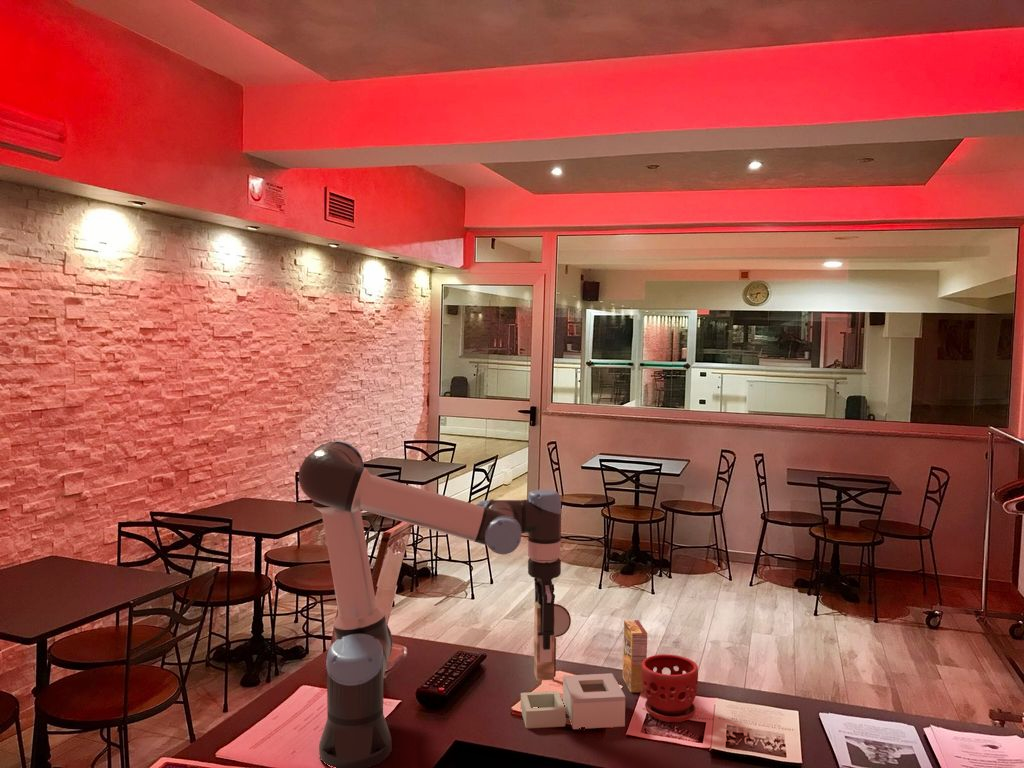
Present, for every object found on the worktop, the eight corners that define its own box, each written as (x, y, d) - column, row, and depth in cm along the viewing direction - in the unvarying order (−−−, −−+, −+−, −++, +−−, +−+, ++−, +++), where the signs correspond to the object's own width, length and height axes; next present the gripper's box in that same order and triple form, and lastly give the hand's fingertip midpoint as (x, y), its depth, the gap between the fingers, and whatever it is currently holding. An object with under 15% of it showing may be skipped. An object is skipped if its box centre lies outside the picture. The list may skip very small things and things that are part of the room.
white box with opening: (573, 729, 177) (573, 699, 176) (562, 703, 188) (563, 675, 188) (624, 726, 178) (625, 696, 178) (611, 701, 190) (611, 673, 189)
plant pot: (701, 706, 188) (703, 658, 187) (690, 732, 176) (691, 680, 175) (648, 695, 193) (649, 648, 192) (633, 719, 181) (634, 669, 180)
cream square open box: (526, 728, 177) (526, 711, 176) (520, 709, 186) (520, 692, 185) (565, 726, 178) (565, 709, 178) (557, 707, 187) (558, 690, 186)
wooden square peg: (536, 680, 179) (537, 608, 178) (534, 673, 183) (534, 601, 182) (554, 679, 179) (554, 607, 178) (551, 672, 183) (551, 601, 182)
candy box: (621, 677, 203) (622, 619, 202) (637, 676, 203) (638, 619, 202) (630, 693, 194) (631, 633, 193) (646, 692, 195) (648, 632, 194)
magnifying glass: (570, 679, 202) (571, 603, 200) (569, 682, 200) (571, 605, 199) (536, 677, 202) (537, 602, 201) (536, 680, 201) (537, 604, 199)
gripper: (567, 568, 171) (567, 672, 173) (553, 547, 188) (553, 641, 190) (534, 570, 170) (533, 674, 172) (523, 548, 187) (522, 643, 189)
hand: (543, 657), depth 181 cm, fingers closed on wooden square peg, 4 cm apart
